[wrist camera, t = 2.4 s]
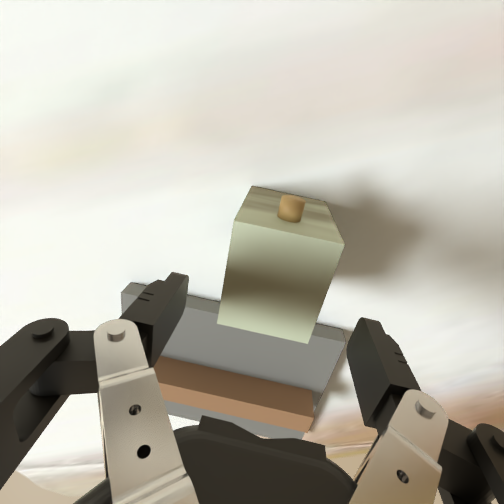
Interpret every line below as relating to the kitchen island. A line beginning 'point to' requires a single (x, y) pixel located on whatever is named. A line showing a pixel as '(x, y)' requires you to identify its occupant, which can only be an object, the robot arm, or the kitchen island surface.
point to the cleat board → (242, 371)
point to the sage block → (279, 264)
